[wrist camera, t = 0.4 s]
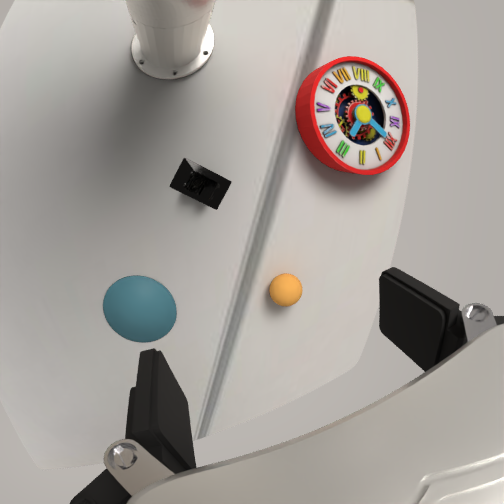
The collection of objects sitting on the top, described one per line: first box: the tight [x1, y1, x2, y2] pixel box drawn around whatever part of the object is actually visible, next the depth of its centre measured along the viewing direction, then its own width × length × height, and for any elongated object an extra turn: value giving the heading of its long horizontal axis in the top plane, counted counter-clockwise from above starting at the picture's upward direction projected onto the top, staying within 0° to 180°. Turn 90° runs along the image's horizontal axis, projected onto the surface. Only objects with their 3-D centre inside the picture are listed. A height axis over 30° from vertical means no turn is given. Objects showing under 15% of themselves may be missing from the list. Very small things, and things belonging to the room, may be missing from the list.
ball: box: [269, 274, 302, 306], centre depth 48 cm, size 6×6×6 cm
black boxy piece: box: [170, 158, 231, 210], centre depth 41 cm, size 12×7×5 cm, turn 60°
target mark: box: [103, 276, 176, 342], centre depth 46 cm, size 13×13×1 cm
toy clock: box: [295, 56, 410, 175], centre depth 42 cm, size 20×6×20 cm
